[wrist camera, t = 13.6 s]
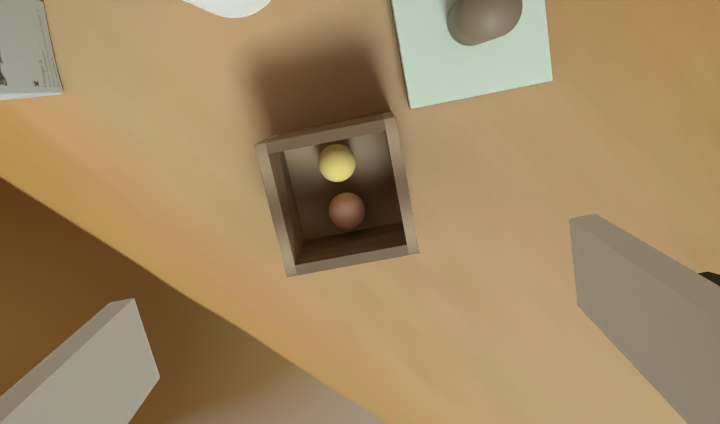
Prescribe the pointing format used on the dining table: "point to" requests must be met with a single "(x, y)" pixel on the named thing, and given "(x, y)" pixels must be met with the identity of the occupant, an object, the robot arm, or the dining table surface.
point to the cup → (230, 7)
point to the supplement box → (26, 51)
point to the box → (314, 194)
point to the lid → (470, 47)
